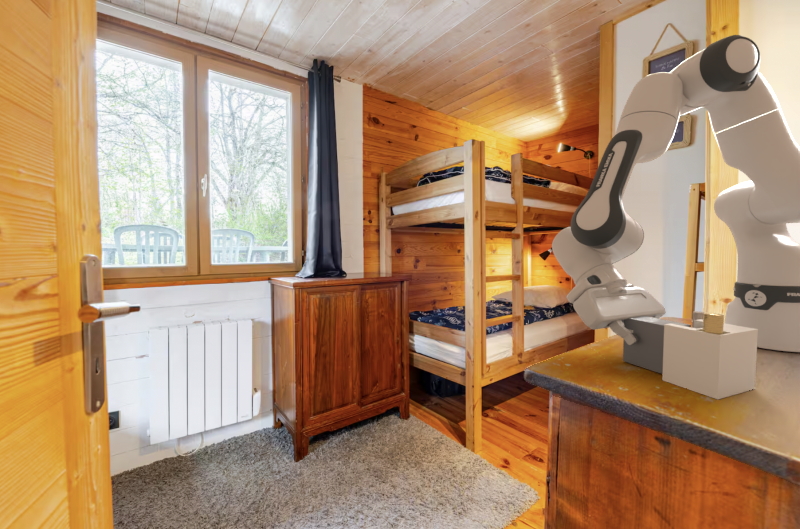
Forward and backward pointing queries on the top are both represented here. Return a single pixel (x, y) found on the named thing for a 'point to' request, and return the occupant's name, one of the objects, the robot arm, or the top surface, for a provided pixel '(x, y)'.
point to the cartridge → (646, 342)
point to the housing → (710, 359)
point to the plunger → (713, 323)
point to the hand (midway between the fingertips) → (647, 341)
